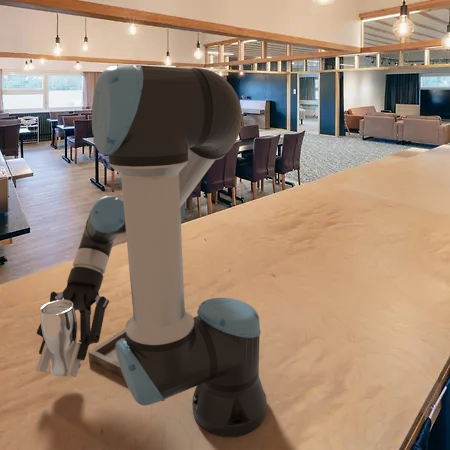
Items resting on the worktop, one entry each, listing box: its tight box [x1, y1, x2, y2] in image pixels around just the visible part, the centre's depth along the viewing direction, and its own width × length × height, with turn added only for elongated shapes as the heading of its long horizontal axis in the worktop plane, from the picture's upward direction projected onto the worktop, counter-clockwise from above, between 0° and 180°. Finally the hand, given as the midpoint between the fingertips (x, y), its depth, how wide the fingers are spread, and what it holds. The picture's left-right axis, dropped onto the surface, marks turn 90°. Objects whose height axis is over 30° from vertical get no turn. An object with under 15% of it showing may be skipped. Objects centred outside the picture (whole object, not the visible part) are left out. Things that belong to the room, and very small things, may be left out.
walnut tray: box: [87, 328, 126, 379], centre depth 98 cm, size 20×20×2 cm
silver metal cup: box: [39, 299, 81, 378], centre depth 84 cm, size 7×7×15 cm
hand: (56, 373), depth 83 cm, fingers open, 6 cm apart
